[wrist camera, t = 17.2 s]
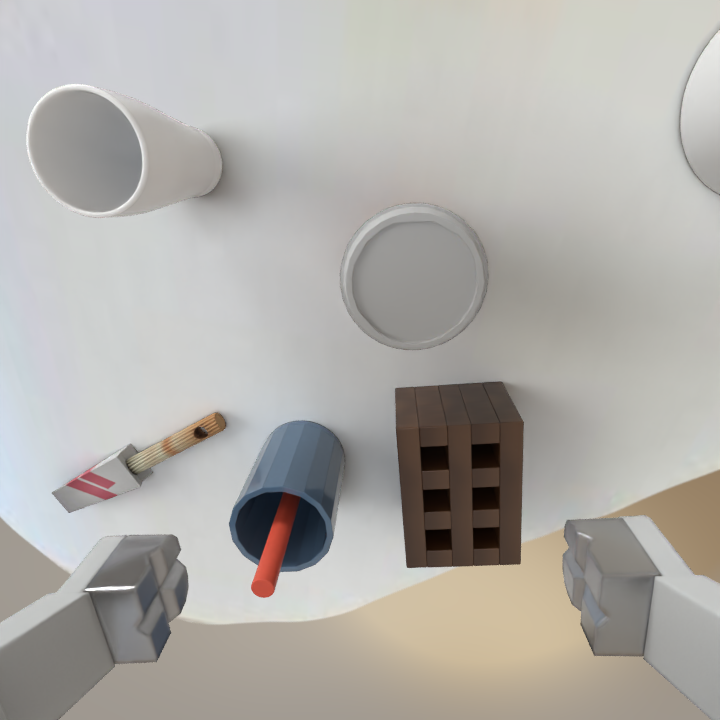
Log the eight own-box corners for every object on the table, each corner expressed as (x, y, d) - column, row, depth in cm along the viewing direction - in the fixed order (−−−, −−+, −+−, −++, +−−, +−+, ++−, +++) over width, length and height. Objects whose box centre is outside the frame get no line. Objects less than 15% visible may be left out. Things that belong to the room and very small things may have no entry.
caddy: (501, 381, 45) (523, 421, 38) (501, 506, 50) (520, 564, 42) (395, 387, 46) (396, 428, 39) (404, 510, 51) (406, 568, 43)
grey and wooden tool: (38, 496, 49) (205, 411, 46) (55, 481, 51) (214, 399, 48) (63, 526, 50) (228, 444, 47) (78, 509, 53) (235, 431, 49)
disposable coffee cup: (486, 232, 41) (523, 251, 29) (427, 329, 44) (440, 380, 33) (385, 175, 40) (383, 173, 28) (332, 278, 43) (312, 314, 32)
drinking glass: (220, 218, 42) (134, 238, 28) (143, 187, 41) (15, 191, 27) (243, 136, 39) (161, 112, 25) (162, 103, 39) (31, 59, 25)
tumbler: (340, 418, 47) (326, 484, 37) (348, 490, 50) (337, 570, 40) (257, 422, 48) (220, 489, 38) (270, 493, 51) (239, 573, 41)
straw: (309, 454, 48) (272, 579, 33) (311, 468, 49) (275, 597, 34) (293, 455, 48) (249, 579, 33) (295, 469, 49) (253, 598, 34)
